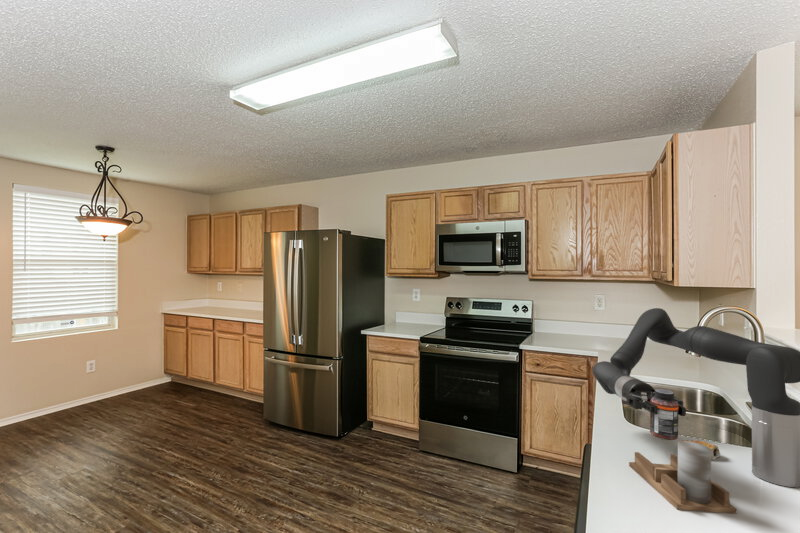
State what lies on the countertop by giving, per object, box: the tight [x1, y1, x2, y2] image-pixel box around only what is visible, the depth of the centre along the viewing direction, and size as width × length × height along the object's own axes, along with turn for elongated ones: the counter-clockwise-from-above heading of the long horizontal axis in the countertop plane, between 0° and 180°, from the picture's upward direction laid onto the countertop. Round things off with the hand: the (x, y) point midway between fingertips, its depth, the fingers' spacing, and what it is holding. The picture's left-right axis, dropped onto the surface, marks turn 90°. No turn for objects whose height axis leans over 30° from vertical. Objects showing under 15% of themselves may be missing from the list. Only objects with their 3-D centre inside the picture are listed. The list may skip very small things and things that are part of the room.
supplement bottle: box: [649, 388, 679, 441], centre depth 99 cm, size 6×6×11 cm
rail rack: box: [628, 440, 737, 514], centre depth 94 cm, size 12×20×12 cm, turn 176°
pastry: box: [681, 439, 721, 461], centre depth 114 cm, size 9×7×4 cm
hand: (670, 411), depth 97 cm, fingers closed on supplement bottle, 6 cm apart
